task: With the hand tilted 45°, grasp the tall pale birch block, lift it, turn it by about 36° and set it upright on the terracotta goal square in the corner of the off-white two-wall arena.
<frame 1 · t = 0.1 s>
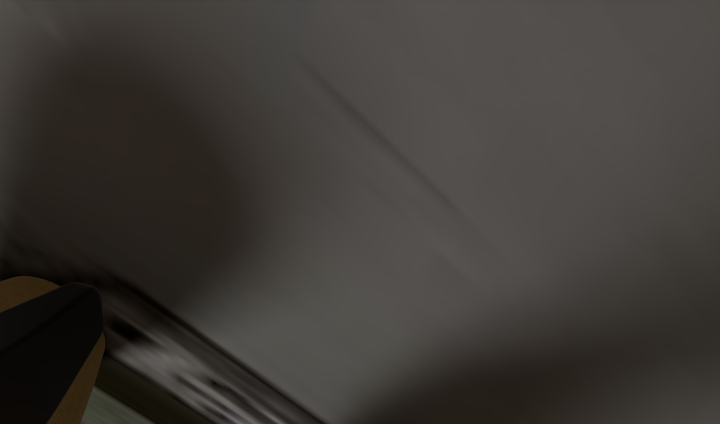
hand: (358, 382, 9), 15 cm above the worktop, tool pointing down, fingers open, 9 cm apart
plant pot: (57, 318, 34), on the worktop
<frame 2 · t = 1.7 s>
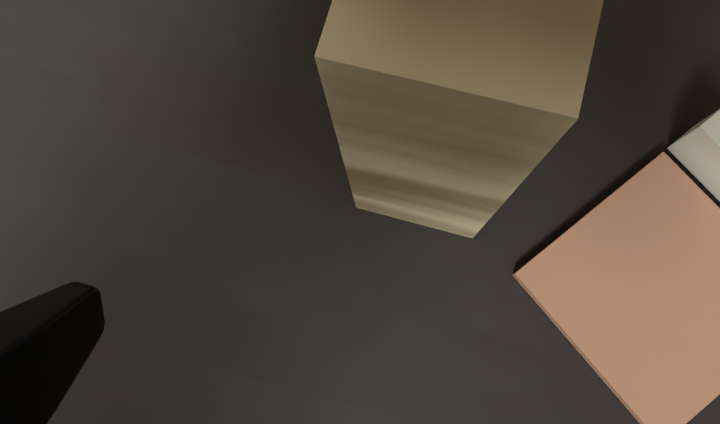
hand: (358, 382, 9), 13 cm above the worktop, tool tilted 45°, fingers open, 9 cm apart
corner arena: (656, 291, 22), on the worktop
birch block: (428, 167, 23), on the worktop
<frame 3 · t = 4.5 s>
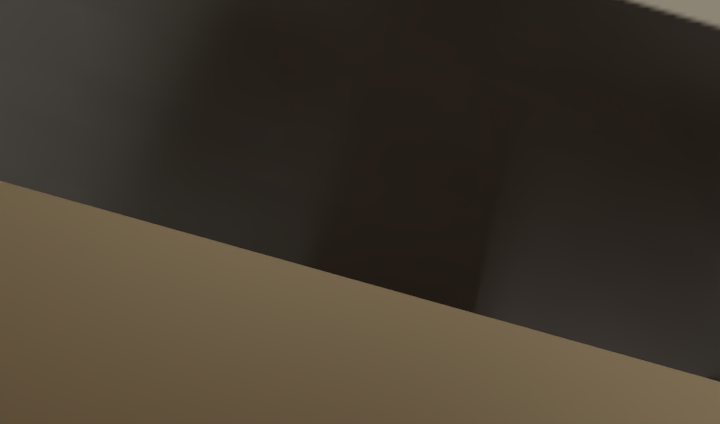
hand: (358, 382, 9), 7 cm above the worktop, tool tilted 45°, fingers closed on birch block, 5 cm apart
birch block: (358, 409, 15), on the worktop, touching gripper
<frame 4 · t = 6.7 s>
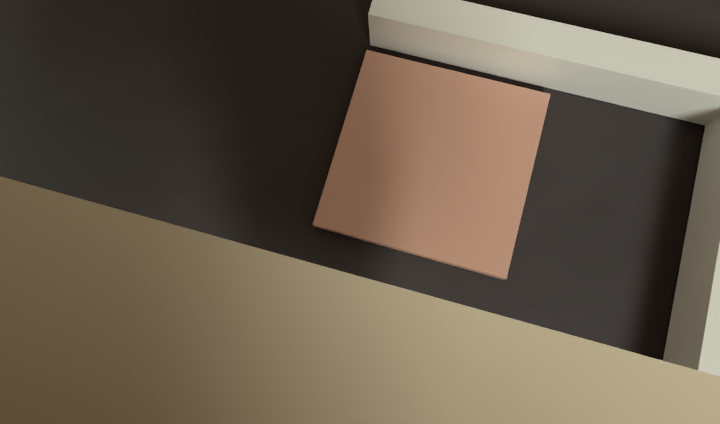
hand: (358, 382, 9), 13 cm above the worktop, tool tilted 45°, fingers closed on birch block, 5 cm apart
corner arena: (432, 162, 23), on the worktop
birch block: (358, 409, 15), point 6 cm above the worktop, touching gripper
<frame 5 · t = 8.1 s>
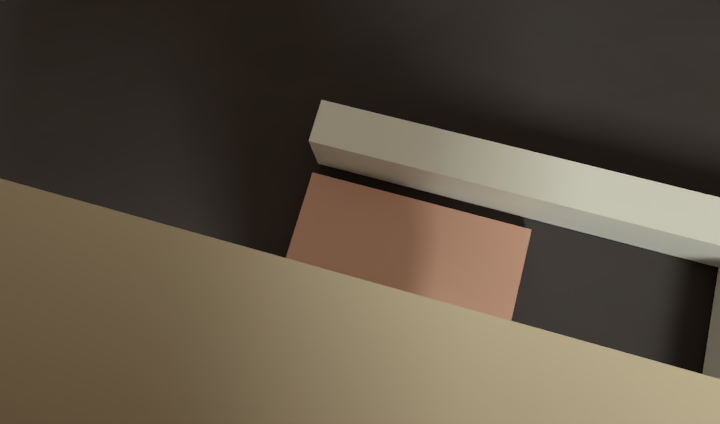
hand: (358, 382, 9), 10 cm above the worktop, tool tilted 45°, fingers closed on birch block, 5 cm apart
corner arena: (389, 310, 19), on the worktop
birch block: (358, 409, 15), point 3 cm above the worktop, touching gripper
when the fingers open (9 cm above the worktop, at t = 9.2 s): birch block drops 1 cm, resting on corner arena.
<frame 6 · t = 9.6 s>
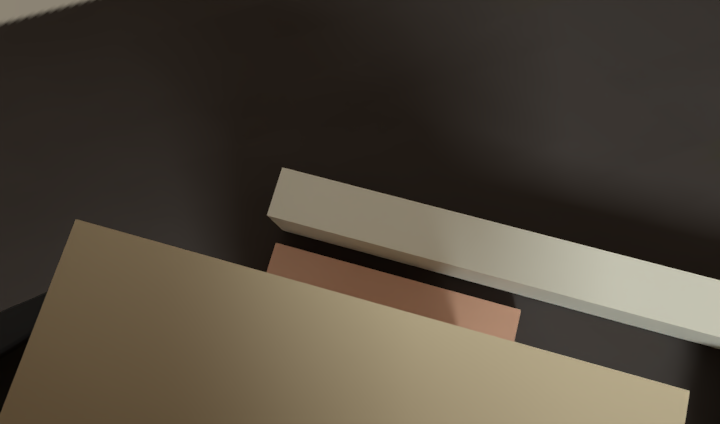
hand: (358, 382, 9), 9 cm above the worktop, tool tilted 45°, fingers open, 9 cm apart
corner arena: (362, 401, 17), on the worktop
birch block: (361, 404, 17), resting on corner arena
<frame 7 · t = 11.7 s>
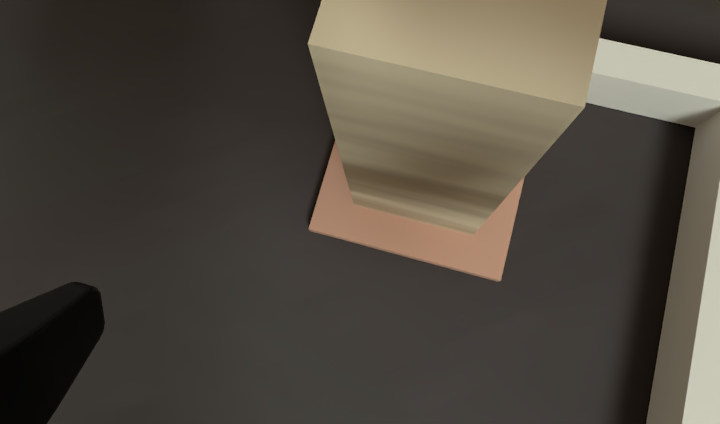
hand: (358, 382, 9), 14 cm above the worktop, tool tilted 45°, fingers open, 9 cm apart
corner arena: (426, 165, 23), on the worktop
birch block: (427, 163, 23), resting on corner arena
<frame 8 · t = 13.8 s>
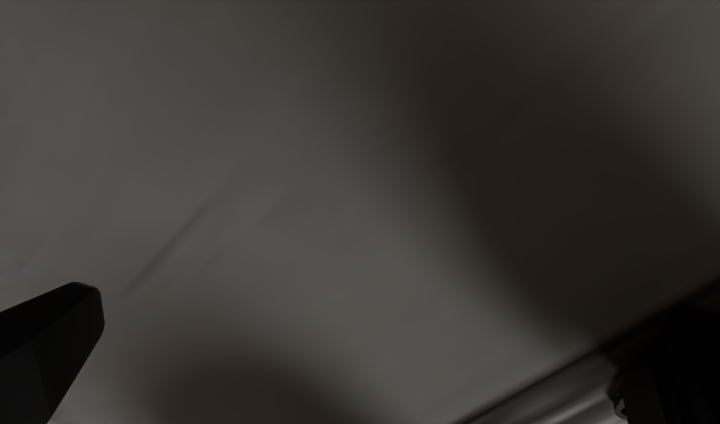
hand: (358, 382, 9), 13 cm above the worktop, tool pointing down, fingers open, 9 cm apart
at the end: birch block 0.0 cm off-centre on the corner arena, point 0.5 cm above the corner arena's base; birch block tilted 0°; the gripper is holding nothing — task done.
